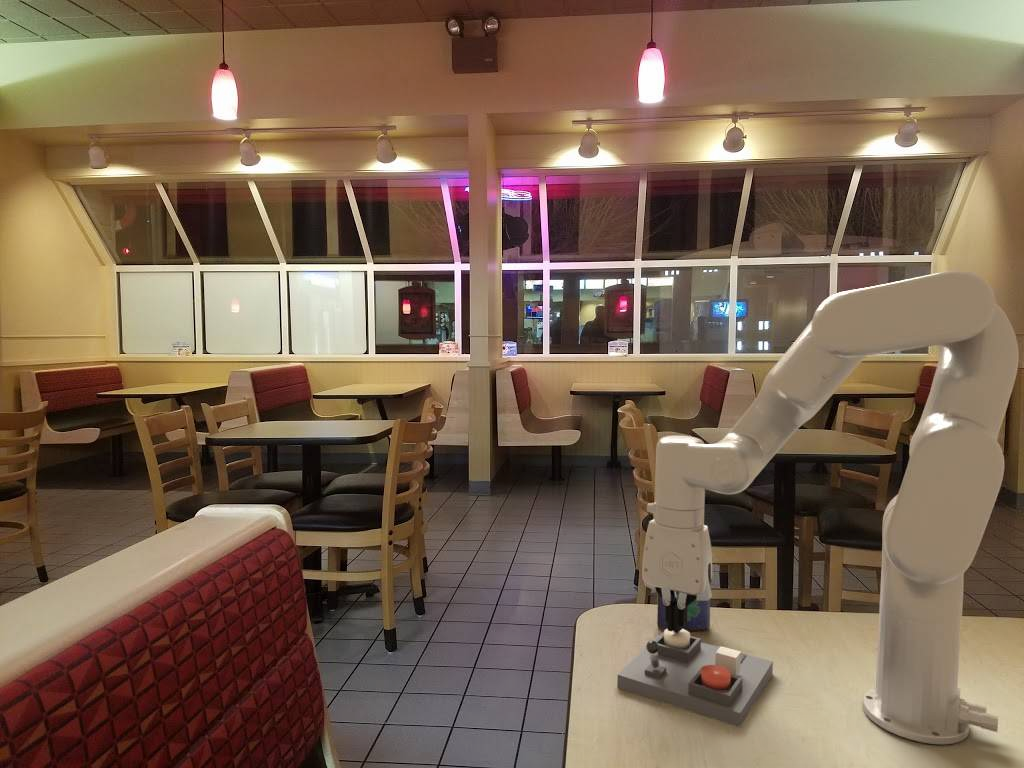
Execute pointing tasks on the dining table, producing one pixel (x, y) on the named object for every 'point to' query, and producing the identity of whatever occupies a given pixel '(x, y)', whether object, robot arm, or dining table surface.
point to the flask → (688, 615)
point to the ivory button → (677, 639)
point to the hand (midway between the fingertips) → (676, 628)
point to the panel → (696, 681)
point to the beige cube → (729, 659)
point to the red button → (715, 677)
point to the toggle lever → (653, 653)
